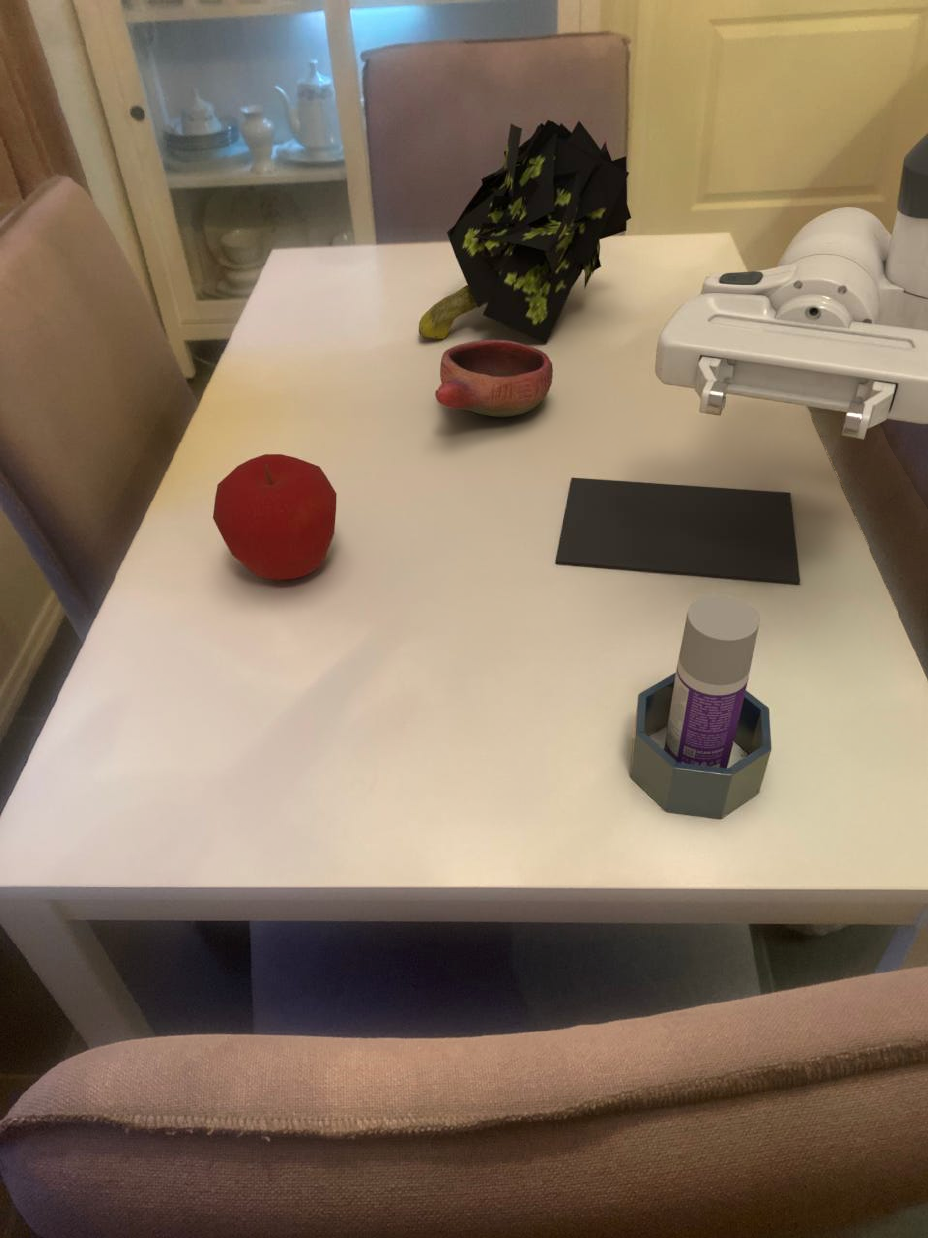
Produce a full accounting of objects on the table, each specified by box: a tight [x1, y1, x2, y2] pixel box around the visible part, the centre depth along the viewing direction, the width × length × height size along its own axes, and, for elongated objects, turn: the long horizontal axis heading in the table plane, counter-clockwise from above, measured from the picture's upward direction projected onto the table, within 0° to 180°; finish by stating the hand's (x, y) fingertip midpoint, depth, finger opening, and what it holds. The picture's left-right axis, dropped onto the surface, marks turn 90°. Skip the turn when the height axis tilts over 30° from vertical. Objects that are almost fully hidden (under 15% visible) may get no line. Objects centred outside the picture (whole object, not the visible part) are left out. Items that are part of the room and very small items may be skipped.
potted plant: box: [418, 119, 632, 345], centre depth 119 cm, size 21×22×30 cm
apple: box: [212, 453, 337, 581], centre depth 83 cm, size 11×11×12 cm
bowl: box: [434, 339, 554, 418], centre depth 104 cm, size 16×13×8 cm
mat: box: [555, 477, 801, 586], centre depth 89 cm, size 22×14×1 cm, turn 79°
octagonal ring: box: [629, 672, 773, 820], centre depth 66 cm, size 9×9×5 cm
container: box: [663, 592, 761, 768], centre depth 63 cm, size 5×5×15 cm
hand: (780, 416), depth 61 cm, fingers open, 8 cm apart
